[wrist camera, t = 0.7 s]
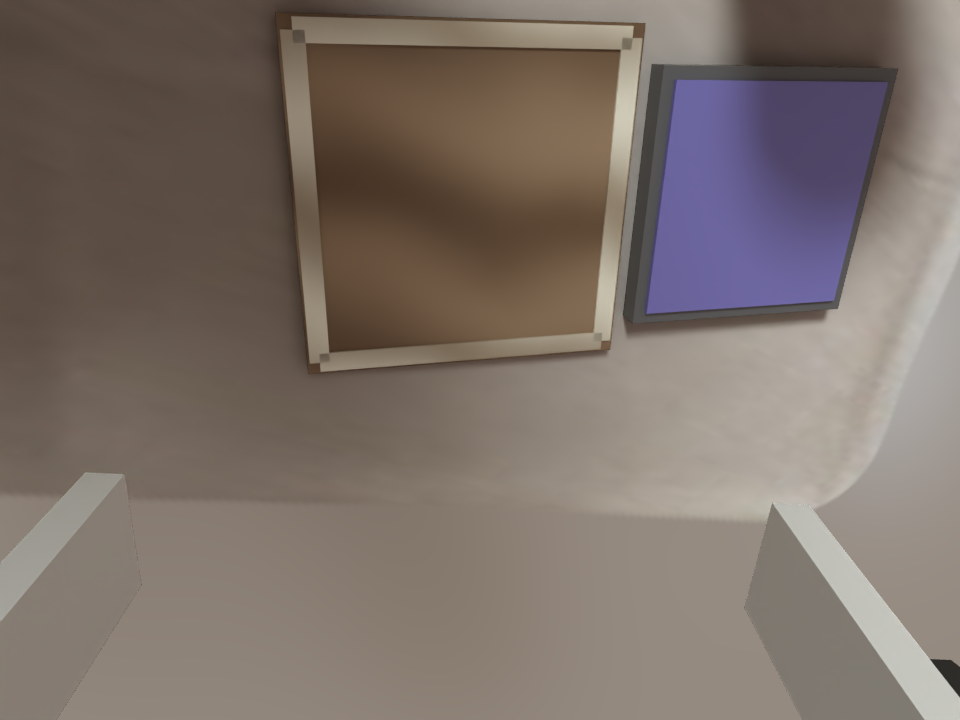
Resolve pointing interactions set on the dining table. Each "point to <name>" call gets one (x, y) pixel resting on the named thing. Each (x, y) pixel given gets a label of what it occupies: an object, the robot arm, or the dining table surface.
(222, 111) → the dining table surface
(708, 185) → the ink pad
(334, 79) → the brown square tray
